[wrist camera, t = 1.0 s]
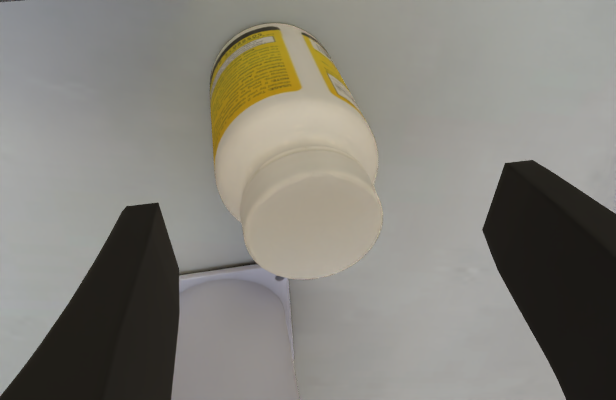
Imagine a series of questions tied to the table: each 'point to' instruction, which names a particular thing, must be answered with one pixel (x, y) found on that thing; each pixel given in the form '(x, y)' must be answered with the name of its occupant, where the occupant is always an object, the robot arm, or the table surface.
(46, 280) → the table surface
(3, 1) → the metal bowl
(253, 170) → the supplement bottle
